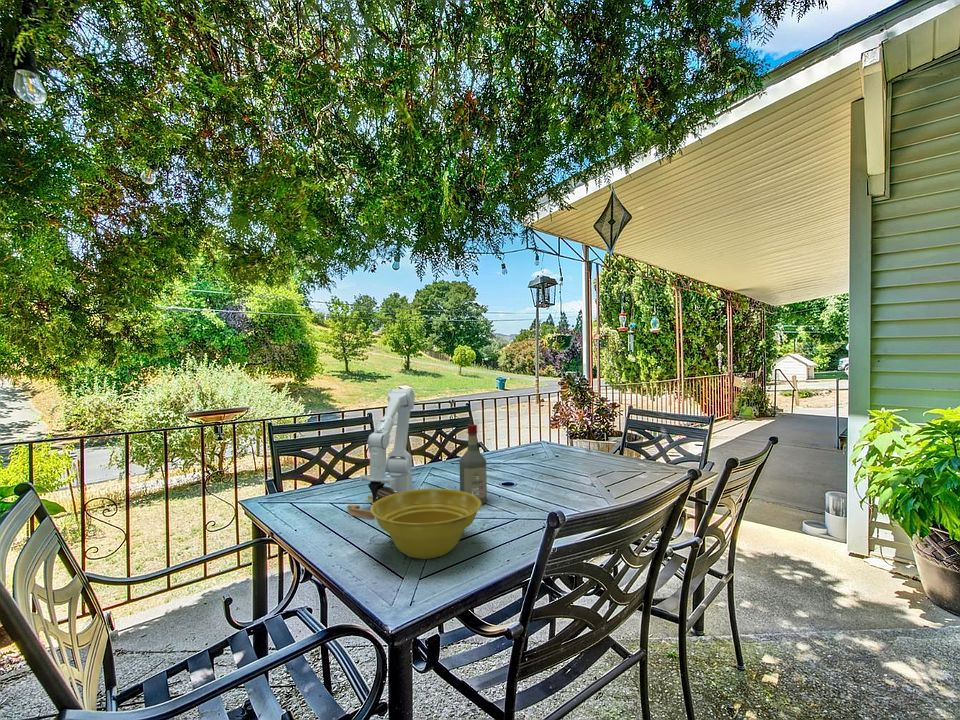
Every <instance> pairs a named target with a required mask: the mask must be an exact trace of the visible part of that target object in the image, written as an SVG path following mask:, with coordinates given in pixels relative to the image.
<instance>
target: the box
mask: <svg viewBox="0 0 960 720" xmlns="http://www.w3.org/2000/svg"><path fill="white" fill-rule="evenodd" d="M395 493H398V491H395V490H393V489H392V488H390V486H389V487H388V486H386V485H384V487H382V488H380V489H379V490H377V493H376V497H375V500H374V503H375V502H376V501H378V500H379V499H381V498H384V497H386V496H389V495H392V494H395ZM374 503H373V504H374Z"/></svg>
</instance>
